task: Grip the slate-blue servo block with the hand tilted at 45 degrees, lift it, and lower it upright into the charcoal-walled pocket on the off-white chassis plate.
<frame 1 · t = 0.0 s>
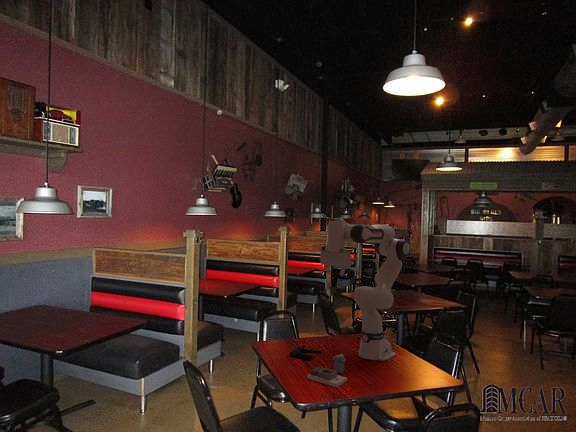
hand: (335, 274, 212), 48 cm above the table, tool pointing down, fingers open, 8 cm apart
chassis: (327, 379, 192), on the table
servo: (339, 371, 204), on the table
gun: (306, 354, 231), on the table
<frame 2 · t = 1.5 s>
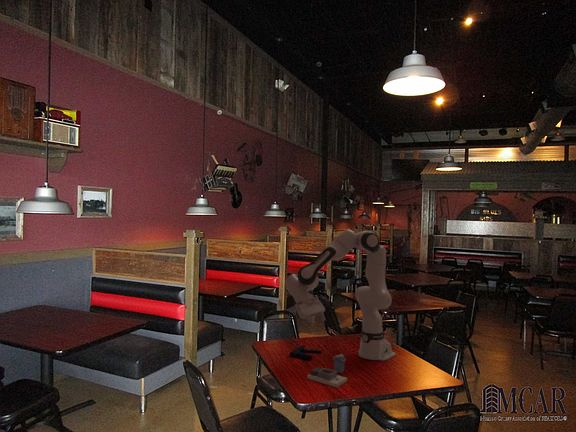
hand: (319, 322, 212), 23 cm above the table, tool tilted 45°, fingers open, 8 cm apart
nothing on the table moved.
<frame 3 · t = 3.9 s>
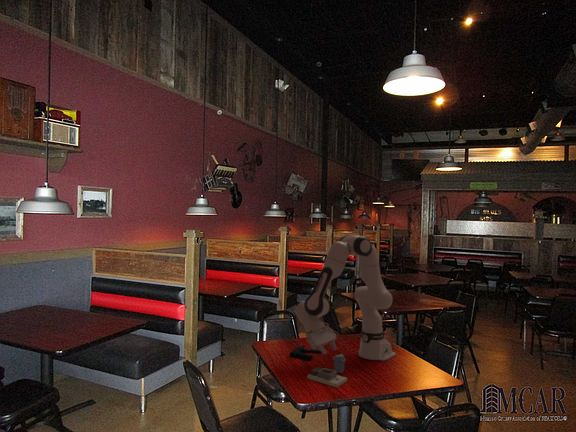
hand: (330, 351, 207), 9 cm above the table, tool tilted 45°, fingers open, 8 cm apart
nothing on the table moved.
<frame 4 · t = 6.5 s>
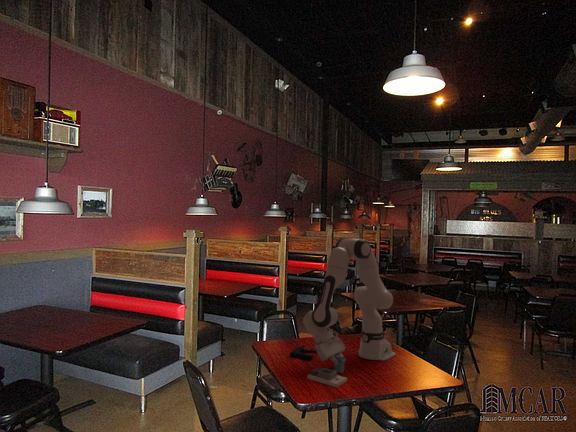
hand: (340, 362, 204), 4 cm above the table, tool tilted 45°, fingers closed on servo, 3 cm apart
servo: (339, 371, 204), on the table, touching gripper
everything else where it was.
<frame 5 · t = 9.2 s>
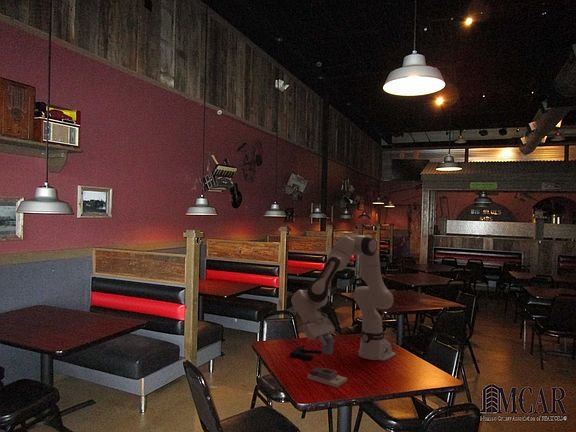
hand: (328, 343, 192), 17 cm above the table, tool tilted 45°, fingers closed on servo, 3 cm apart
servo: (327, 352, 193), point 13 cm above the table, touching gripper
everything else where it was.
when the fingers open (7 cm above the table, at t = 12.1 s): servo drops 1 cm, resting on chassis.
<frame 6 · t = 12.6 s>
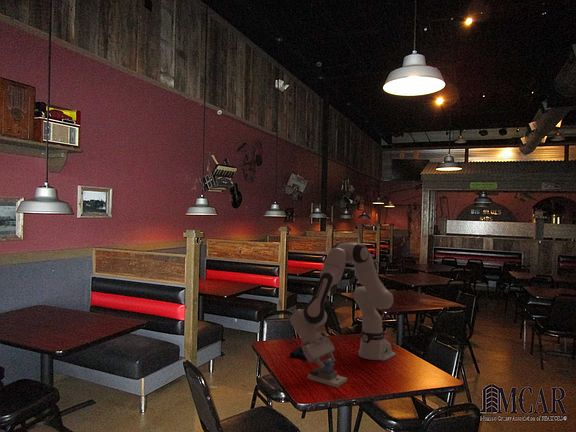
hand: (328, 364, 192), 7 cm above the table, tool tilted 45°, fingers open, 8 cm apart
servo: (327, 376, 192), point 1 cm above the table, touching chassis
everything else where it was.
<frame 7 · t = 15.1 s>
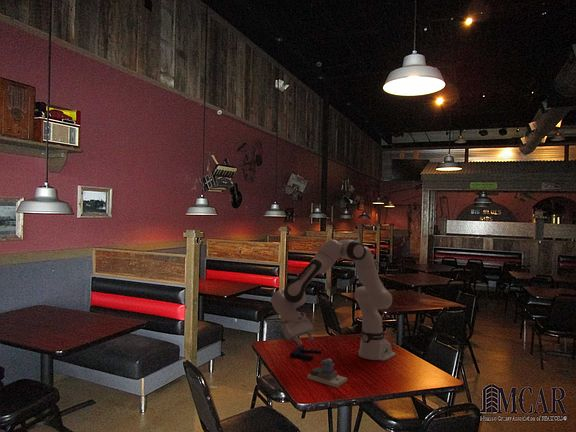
hand: (306, 342, 200), 15 cm above the table, tool tilted 45°, fingers open, 8 cm apart
nothing on the table moved.
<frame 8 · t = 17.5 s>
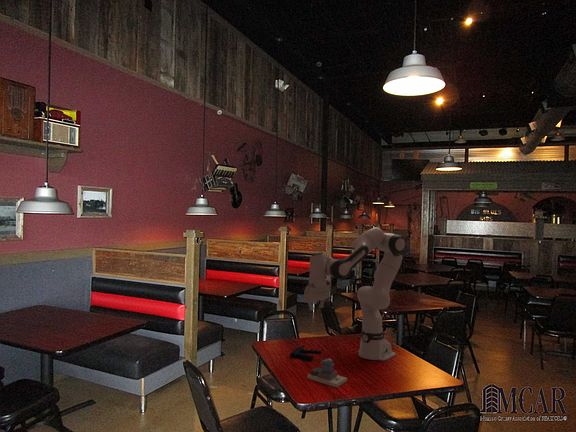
hand: (316, 308, 215), 29 cm above the table, tool pointing down, fingers open, 8 cm apart
nothing on the table moved.
at the end: servo 0.1 cm off-centre on the chassis, point 1.5 cm above the chassis's base; servo tilted 0°; the gripper is holding nothing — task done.
